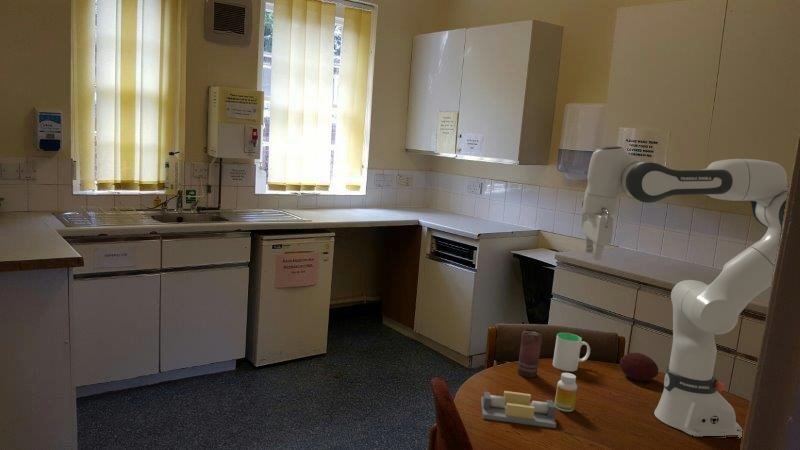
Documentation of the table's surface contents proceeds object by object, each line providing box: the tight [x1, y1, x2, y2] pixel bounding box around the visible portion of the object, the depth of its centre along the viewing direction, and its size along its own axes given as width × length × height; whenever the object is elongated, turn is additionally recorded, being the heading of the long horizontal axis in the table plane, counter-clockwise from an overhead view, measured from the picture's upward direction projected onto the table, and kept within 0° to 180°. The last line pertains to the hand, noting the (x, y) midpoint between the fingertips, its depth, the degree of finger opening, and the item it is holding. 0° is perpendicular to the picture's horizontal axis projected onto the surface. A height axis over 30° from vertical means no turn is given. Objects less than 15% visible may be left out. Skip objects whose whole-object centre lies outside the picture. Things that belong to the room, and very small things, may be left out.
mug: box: [552, 332, 591, 372], centre depth 204 cm, size 12×8×10 cm
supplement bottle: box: [554, 372, 578, 413], centre depth 171 cm, size 5×5×10 cm
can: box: [517, 329, 543, 379], centre depth 193 cm, size 6×6×14 cm
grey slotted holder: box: [480, 390, 557, 429], centre depth 164 cm, size 19×11×4 cm, turn 85°
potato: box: [619, 352, 659, 381], centre depth 199 cm, size 12×11×8 cm
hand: (592, 256), depth 166 cm, fingers open, 8 cm apart
